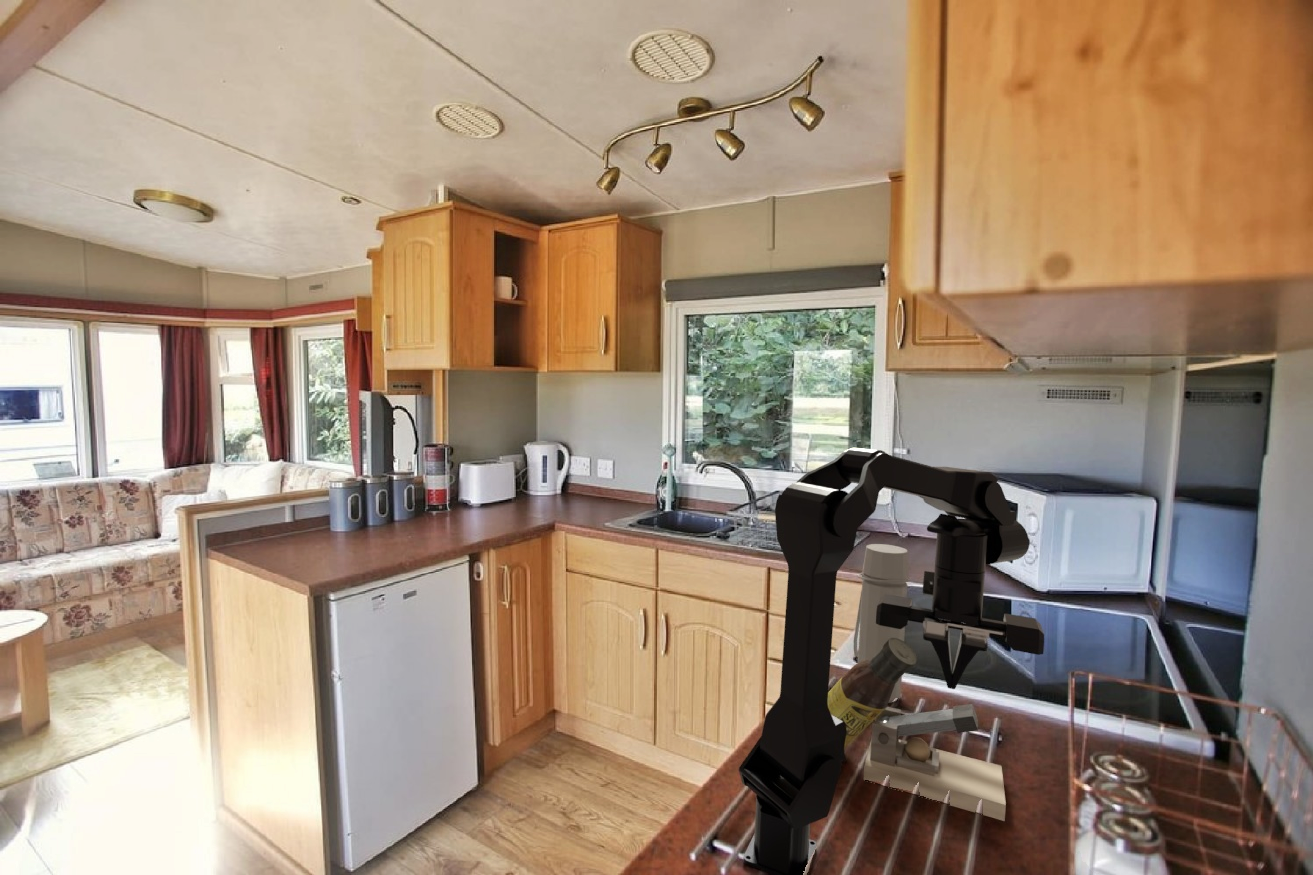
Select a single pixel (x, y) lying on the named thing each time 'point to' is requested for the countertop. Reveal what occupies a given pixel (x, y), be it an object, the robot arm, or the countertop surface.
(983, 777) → the nutcracker base
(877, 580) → the water bottle
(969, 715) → the nutcracker lever
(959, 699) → the countertop surface
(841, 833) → the countertop surface
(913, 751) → the walnut
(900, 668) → the sauce bottle
